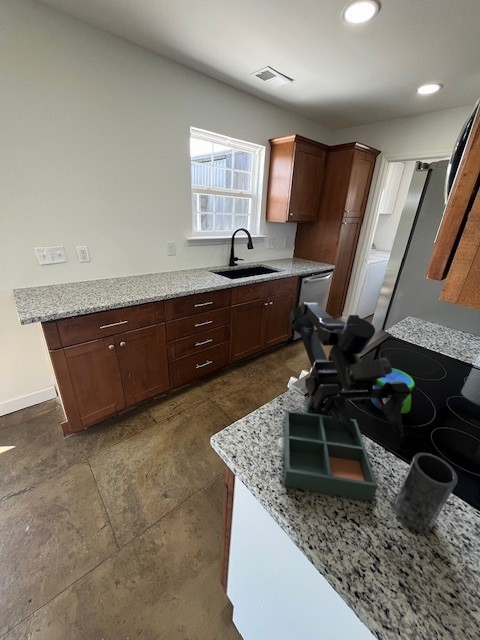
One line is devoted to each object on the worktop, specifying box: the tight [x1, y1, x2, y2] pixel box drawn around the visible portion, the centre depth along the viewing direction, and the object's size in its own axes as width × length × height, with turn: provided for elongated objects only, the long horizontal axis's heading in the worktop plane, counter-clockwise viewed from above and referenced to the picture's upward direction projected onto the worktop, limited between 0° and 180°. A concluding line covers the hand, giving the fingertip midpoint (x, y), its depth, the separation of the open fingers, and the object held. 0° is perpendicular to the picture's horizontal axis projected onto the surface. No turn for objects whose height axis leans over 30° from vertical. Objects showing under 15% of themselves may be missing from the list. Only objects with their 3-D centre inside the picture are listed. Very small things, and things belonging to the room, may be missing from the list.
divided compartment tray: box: [283, 409, 378, 502], centre depth 62 cm, size 18×18×5 cm
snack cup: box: [370, 367, 416, 415], centre depth 78 cm, size 16×10×10 cm
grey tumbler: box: [393, 452, 459, 534], centre depth 49 cm, size 6×6×13 cm
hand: (378, 436), depth 49 cm, fingers open, 9 cm apart
